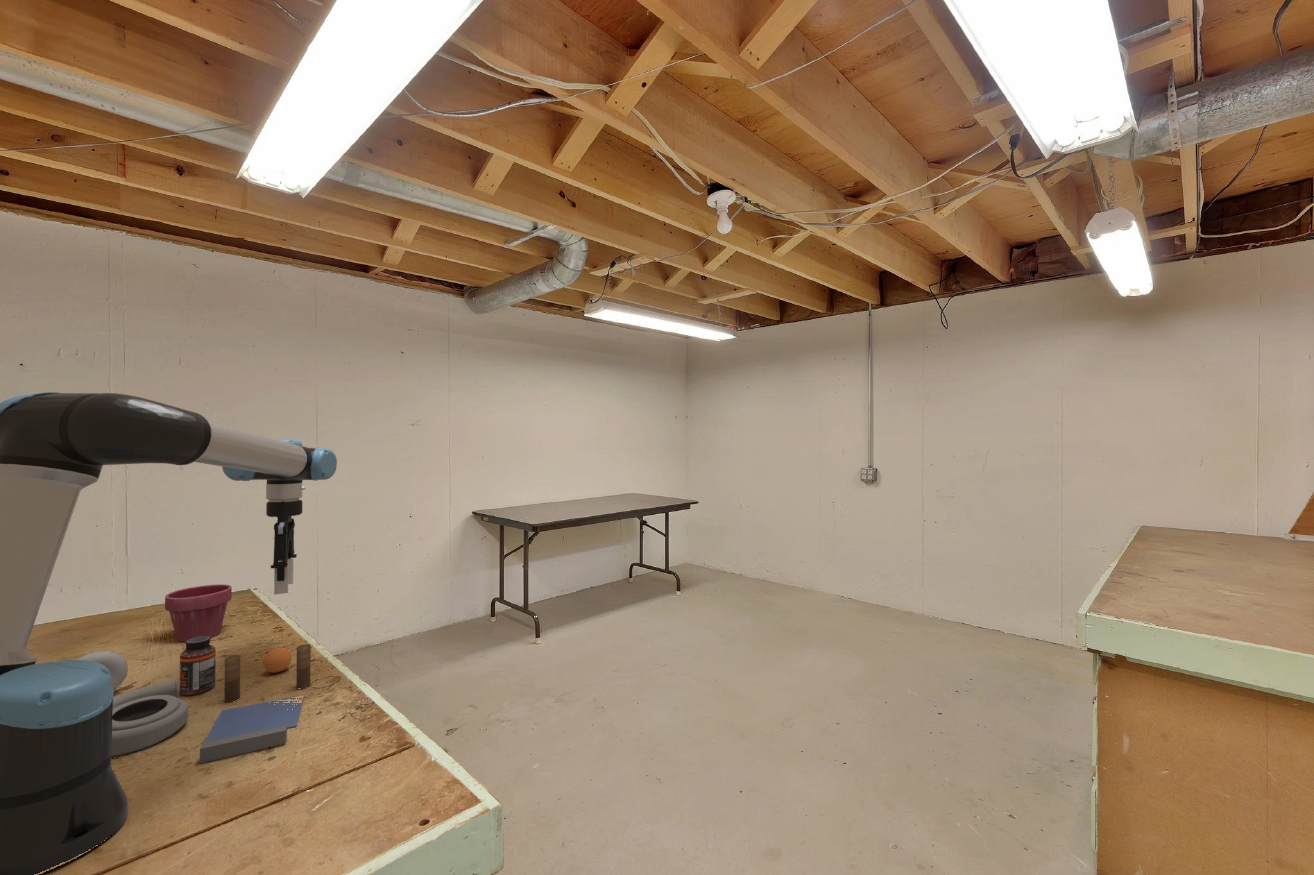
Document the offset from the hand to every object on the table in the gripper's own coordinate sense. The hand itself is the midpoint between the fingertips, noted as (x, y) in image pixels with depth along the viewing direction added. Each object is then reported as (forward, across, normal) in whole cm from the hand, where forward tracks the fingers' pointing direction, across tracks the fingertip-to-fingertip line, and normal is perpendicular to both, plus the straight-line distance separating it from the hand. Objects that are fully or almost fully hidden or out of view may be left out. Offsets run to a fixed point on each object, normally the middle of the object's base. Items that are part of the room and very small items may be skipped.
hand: (284, 588), depth 133 cm
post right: (+17, -22, -6) cm, 28 cm away
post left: (+17, -22, +6) cm, 28 cm away
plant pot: (+18, +28, +23) cm, 41 cm away
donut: (+18, -8, +32) cm, 37 cm away
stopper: (+17, -46, 0) cm, 49 cm away
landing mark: (+17, -34, 0) cm, 38 cm away
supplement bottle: (+18, -12, +14) cm, 26 cm away
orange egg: (+15, -10, 0) cm, 17 cm away
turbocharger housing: (+18, -29, +19) cm, 39 cm away
